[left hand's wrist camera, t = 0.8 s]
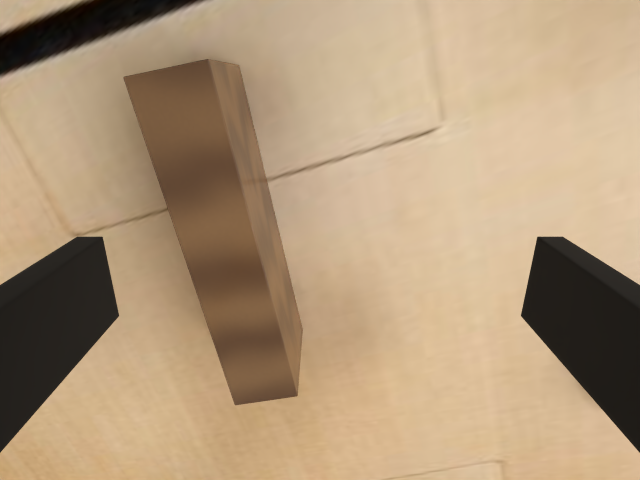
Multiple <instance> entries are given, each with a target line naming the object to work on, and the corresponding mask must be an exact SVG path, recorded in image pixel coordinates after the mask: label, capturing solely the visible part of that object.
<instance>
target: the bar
mask: <svg viewBox="0 0 640 480" xmlns="http://www.w3.org/2000/svg"><path fill="white" fill-rule="evenodd" d="M124 81H125V84H126V87H127V90H128V92H129V95H130V98H131V101H132V104H133V107H134V110H135V113H136V116H137V119H138V122H139V125H140V128H141V131H142V134H143V137H144V139H145V142H146V145H147V148H148V151H149V154H150V157H151V160H152V163H153V166H154V169H155V172H156V175H157V178H158V181H159V183H160V186H161V189H162V192H163V195H164V198H165V201H166V204H167V207H168V210H169V213H170V216H171V219H172V222H173V225H174V228H175V230H176V233H177V236H178V239H179V242H180V245H181V248H182V251H183V254H184V257H185V260H186V263H187V266H188V269H189V272H190V275H191V277H192V280H193V283H194V286H195V289H196V292H197V295H198V298H199V301H200V304H201V307H202V310H203V313H204V316H205V319H206V321H207V324H208V327H209V330H210V333H211V336H212V339H213V342H214V345H215V348H216V351H217V354H218V357H219V360H220V363H221V366H222V368H223V371H224V374H225V377H226V380H227V383H228V386H229V389H230V392H231V395H232V398H233V401H234V404H235V405H240V404H247V403H254V402H261V401H268V400H274V399H281V398H288V397H295V396H297V395H298V383H299V370H300V357H301V344H302V331H303V329H302V325H301V321H300V317H299V313H298V309H297V305H296V300H295V296H294V292H293V288H292V284H291V280H290V275H289V271H288V267H287V263H286V259H285V255H284V250H283V246H282V242H281V238H280V234H279V230H278V226H277V221H276V217H275V213H274V209H273V205H272V201H271V196H270V192H269V188H268V184H267V180H266V176H265V171H264V167H263V163H262V159H261V155H260V151H259V146H258V142H257V138H256V134H255V130H254V126H253V122H252V117H251V113H250V109H249V105H248V101H247V97H246V92H245V88H244V84H243V80H242V76H241V72H240V67H239V65H235V64H230V63H224V62H219V61H214V60H209V59H206V60H202V61H197V62H192V63H187V64H183V65H178V66H173V67H168V68H164V69H159V70H154V71H149V72H145V73H140V74H135V75H130V76H126V77H124Z"/></svg>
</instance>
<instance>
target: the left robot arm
mask: <svg viewBox="0 0 640 480" xmlns="http://www.w3.org/2000/svg"><path fill="white" fill-rule="evenodd" d="M118 316H119V313H118V309H117V304H116V299H115V294H114V289H113V285H112V280H111V275H110V270H109V265H108V261H107V256H106V251H105V246H104V241H103V237H76V238H75V239H73V240H71V241H70V242H68V243H67V244H65V245H63V246H62V247H60V248H59V249H57V250H55V251H54V252H52V253H51V254H49V255H47V256H46V257H44V258H43V259H41V260H39V261H38V262H36V263H35V264H33V265H31V266H30V267H28V268H27V269H25V270H24V271H22V272H20V273H19V274H17V275H16V276H14V277H12V278H11V279H9V280H8V281H6V282H4V283H3V284H1V285H0V452H1V451H2V450H3V449H4V448H5V446H6V445H7V444H8V443H9V442H10V441H11V440H12V438H13V437H14V436H15V435H16V434H17V433H18V432H19V430H20V429H21V428H22V427H23V426H24V425H25V423H26V422H27V421H28V420H29V419H30V418H31V417H32V415H33V414H34V413H35V412H36V411H37V410H38V409H39V407H40V406H41V405H42V404H43V403H44V402H45V400H46V399H47V398H48V397H49V396H50V395H51V394H52V392H53V391H54V390H55V389H56V388H57V387H58V385H59V384H60V383H61V382H62V381H63V380H64V379H65V377H66V376H67V375H68V374H69V373H70V372H71V371H72V369H73V368H74V367H75V366H76V365H77V364H78V362H79V361H80V360H81V359H82V358H83V357H84V356H85V354H86V353H87V352H88V351H89V350H90V349H91V348H92V346H93V345H94V344H95V343H96V342H97V341H98V339H99V338H100V337H101V336H102V335H103V334H104V333H105V331H106V330H107V329H108V328H109V327H110V326H111V324H112V323H113V322H114V321H115V320H116V319H117V318H118ZM521 316H522V318H523V319H524V320H525V321H526V322H527V323H528V324H529V326H530V327H531V328H532V329H533V330H534V331H535V333H536V334H537V335H538V336H539V337H540V338H541V339H542V341H543V342H544V343H545V344H546V345H547V346H548V348H549V349H550V350H551V351H552V352H553V353H554V354H555V356H556V357H557V358H558V359H559V360H560V361H561V362H562V364H563V365H564V366H565V367H566V368H567V369H568V371H569V372H570V373H571V374H572V375H573V376H574V377H575V379H576V380H577V381H578V382H579V383H580V384H581V385H582V387H583V388H584V389H585V390H586V391H587V392H588V394H589V395H590V396H591V397H592V398H593V399H594V400H595V402H596V403H597V404H598V405H599V406H600V407H601V409H602V410H603V411H604V412H605V413H606V414H607V415H608V417H609V418H610V419H611V420H612V421H613V422H614V423H615V425H616V426H617V427H618V428H619V429H620V430H621V432H622V433H623V434H624V435H625V436H626V437H627V438H628V440H629V441H630V442H631V443H632V444H633V445H634V446H635V448H636V449H637V450H638V451H639V452H640V285H639V284H637V283H636V282H634V281H632V280H631V279H629V278H628V277H626V276H624V275H623V274H621V273H620V272H618V271H616V270H615V269H613V268H612V267H610V266H609V265H607V264H605V263H604V262H602V261H601V260H599V259H597V258H596V257H594V256H593V255H591V254H589V253H588V252H586V251H585V250H583V249H581V248H580V247H578V246H577V245H575V244H573V243H572V242H570V241H569V240H567V239H565V238H564V237H537V241H536V246H535V251H534V256H533V261H532V265H531V270H530V275H529V280H528V285H527V289H526V294H525V299H524V304H523V309H522V313H521Z"/></svg>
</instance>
